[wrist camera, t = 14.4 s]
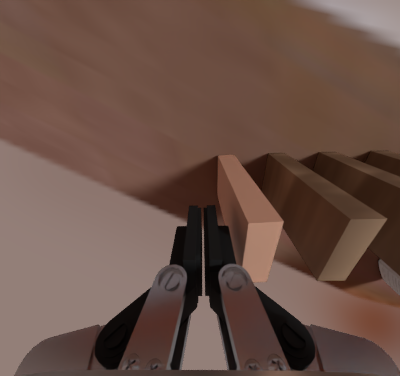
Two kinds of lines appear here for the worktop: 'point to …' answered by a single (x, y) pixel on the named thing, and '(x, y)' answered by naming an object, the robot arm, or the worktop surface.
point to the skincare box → (390, 276)
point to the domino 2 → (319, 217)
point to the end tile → (247, 218)
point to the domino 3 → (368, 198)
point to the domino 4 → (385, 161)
